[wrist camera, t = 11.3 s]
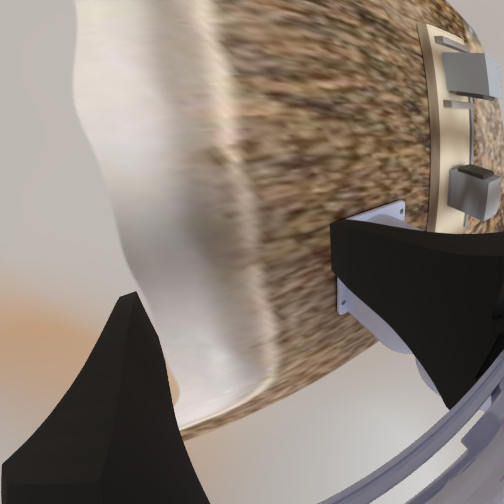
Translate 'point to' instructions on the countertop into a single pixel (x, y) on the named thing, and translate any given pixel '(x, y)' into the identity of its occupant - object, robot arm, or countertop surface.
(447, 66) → the finger part
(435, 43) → the rail
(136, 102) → the countertop surface
